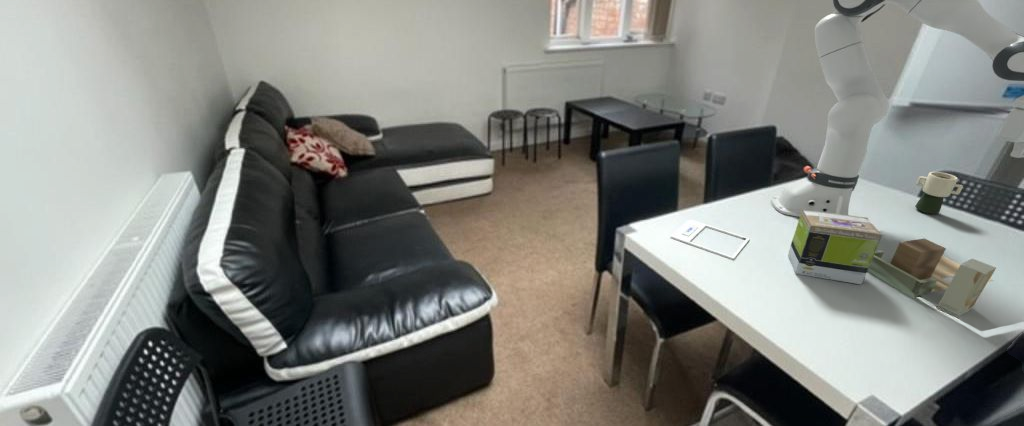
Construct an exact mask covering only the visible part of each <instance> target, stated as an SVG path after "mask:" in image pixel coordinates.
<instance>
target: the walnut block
mask: <svg viewBox="0 0 1024 426" xmlns="http://www.w3.org/2000/svg"><path fill="white" fill-rule="evenodd" d="M946 250H947V248H946V247H944V246H941V245H939V244H937V243H935V242H934V241H931V240H929V239H927V238H919V239H912V240H906V241H904V240H903V241H900V242H899V244H898V246H897V247H896V250H895V252H894V254H893V257H892V259H891V261H890V262H889V263H890V264H892V265H894V266H895V267H897V268H899V269H901V270H903V271H905V272H906V273H908V274H910V275H912V276H914V277H916V278H917V279H919V280H923V279H928V278H931V276H932V274H933V272H934V270H935V268H936V266H937V264H938V263H939V261H940V259H941V257H942V256H944V254H945V251H946Z"/></svg>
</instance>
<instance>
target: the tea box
mask: <svg viewBox="0 0 1024 426" xmlns="http://www.w3.org/2000/svg"><path fill="white" fill-rule="evenodd" d="M795 228H796V229H795V232H794V234H793V238H792V241H791V243H790V247H789V250H788V253H787V256H788V259H789V261H790V264H791V266H792V268H793V272H794V273H795V274H796V275H801V276H808V277H815V278H821V279H825V280H832V281H839V282H845V283H851V284H856V285H862V284H863V283H864V280H865V277H866V276H867V273H868V268H869V266H870V263H871V261H872V259H873V256H874V254H875V251H877V248H878V246H879V244H880V241H881V239H882V236H883V234H882V233H881V231H879V230H878V229H877V228H876V226H875V225H874V224H873V223H872V222H871V221H870V219H869V217H865V216H858V215H857V216H856V215H849V214H848V215H841V214H834V213H825V212H817V211H808V210H802V212H801V215H800V217H799V219H798V222H797V226H796V227H795Z"/></svg>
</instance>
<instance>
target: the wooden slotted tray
mask: <svg viewBox="0 0 1024 426" xmlns="http://www.w3.org/2000/svg"><path fill="white" fill-rule="evenodd" d="M884 253H885V251H883V250H881V249H880V250H877V249H876V251H875V254H874V256H873V259H872V261H871V263H870V266H869V268H868V271H867V273H869V274H871V275H873V276H874V277H876V278H878V279H880V280H881V281H883V282H884V283H886V284H888V285H890V286H891V287H893V288H895V289H897V290H898V291H900V292H902V293H903V294H905V295H906V296H909V297H911V298H912V299H916V298H922V296H921V295H924V294H928V293H929V294H930V293H933V292H938V291H946V290H947V288H948V286H949V284H950V283H951V282H948V281H946V280H944V278H951V277H954V275H955V274H956V272H957V270H958V268H959V267H960V265H961V264H962V263H958V262H956V261H954V260H952V259H950V258H948V257H947V256H944V255H942V257H941V259H940V261H939V263H938V264H937V266H936V268H935V270H934V272H933V274H932V276H931V278H928V279H923V280H919V279H917V278H916V277H914V276H912V275H910V274H908V273H906V272H905V271H903V270H901V269H899V268H897V267H895V266H894V265H892V264H890V262H888V261H886V260H884V259H882V257H883V255H884ZM991 281H993V278H990V279H989V281H988V282H991Z"/></svg>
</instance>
